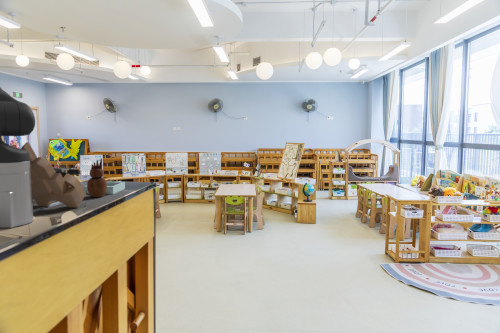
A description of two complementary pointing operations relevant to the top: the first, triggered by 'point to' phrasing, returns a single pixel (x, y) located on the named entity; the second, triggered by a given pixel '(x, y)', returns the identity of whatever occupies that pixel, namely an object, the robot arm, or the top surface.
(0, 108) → the robot arm
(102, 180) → the wooden figurine
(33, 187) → the wooden toy
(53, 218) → the top surface
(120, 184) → the pale teal tray
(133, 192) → the top surface
